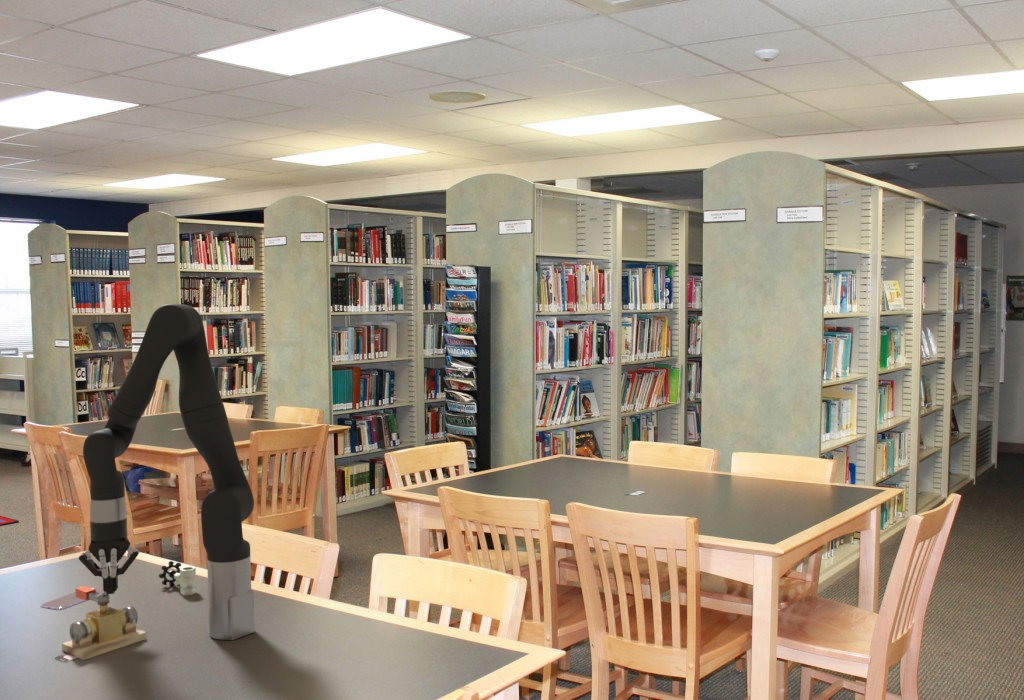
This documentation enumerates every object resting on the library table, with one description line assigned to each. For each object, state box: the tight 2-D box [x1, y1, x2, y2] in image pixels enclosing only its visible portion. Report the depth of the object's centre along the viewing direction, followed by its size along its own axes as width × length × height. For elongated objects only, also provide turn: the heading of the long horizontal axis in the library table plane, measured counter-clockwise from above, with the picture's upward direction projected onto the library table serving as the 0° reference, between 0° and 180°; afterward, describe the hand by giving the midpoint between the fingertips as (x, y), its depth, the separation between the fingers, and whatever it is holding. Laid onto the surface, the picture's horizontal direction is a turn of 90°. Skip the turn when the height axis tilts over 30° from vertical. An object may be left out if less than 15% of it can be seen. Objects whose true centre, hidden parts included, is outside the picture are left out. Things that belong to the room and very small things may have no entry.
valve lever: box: [75, 585, 111, 606], centre depth 193 cm, size 11×2×2 cm, turn 54°
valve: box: [158, 560, 198, 597], centre depth 227 cm, size 7×7×12 cm
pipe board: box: [61, 622, 147, 660], centre depth 190 cm, size 9×14×4 cm, turn 144°
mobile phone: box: [40, 587, 106, 611], centre depth 221 cm, size 8×1×15 cm
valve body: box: [69, 603, 139, 644], centre depth 190 cm, size 5×13×8 cm, turn 144°
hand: (111, 593), depth 198 cm, fingers closed
